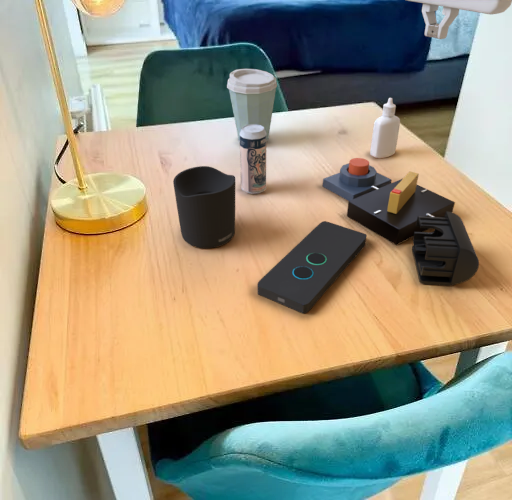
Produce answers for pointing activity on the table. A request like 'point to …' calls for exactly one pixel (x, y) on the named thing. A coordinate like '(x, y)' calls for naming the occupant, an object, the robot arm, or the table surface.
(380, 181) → the button box
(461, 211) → the table surface
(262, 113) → the disposable coffee cup
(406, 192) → the rotary switch knob
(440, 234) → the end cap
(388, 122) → the eye dropper bottle
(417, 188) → the rotary switch
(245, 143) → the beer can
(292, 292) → the smart home device
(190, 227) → the pen holder
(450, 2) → the robot arm
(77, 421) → the table surface
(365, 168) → the button
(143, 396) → the table surface
